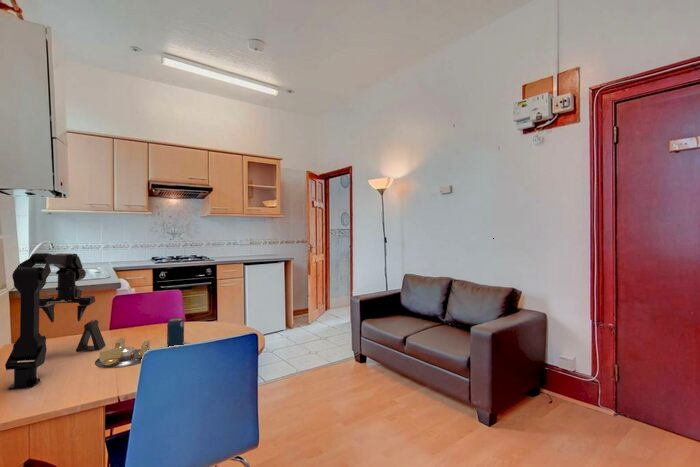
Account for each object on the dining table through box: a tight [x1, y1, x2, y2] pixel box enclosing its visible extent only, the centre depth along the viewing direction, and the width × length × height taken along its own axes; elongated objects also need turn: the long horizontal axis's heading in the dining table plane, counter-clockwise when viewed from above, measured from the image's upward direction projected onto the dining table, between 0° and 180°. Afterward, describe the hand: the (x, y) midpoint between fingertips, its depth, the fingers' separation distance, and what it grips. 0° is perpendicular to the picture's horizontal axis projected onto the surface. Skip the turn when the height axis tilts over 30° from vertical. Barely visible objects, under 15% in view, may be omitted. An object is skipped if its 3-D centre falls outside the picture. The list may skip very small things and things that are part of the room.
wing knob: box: [99, 346, 122, 367], centre depth 134 cm, size 7×5×6 cm
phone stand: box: [75, 319, 106, 352], centre depth 154 cm, size 9×6×12 cm, turn 103°
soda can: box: [166, 317, 185, 347], centre depth 161 cm, size 7×7×12 cm
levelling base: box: [94, 337, 151, 369], centre depth 141 cm, size 20×20×7 cm
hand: (65, 321), depth 145 cm, fingers open, 9 cm apart
